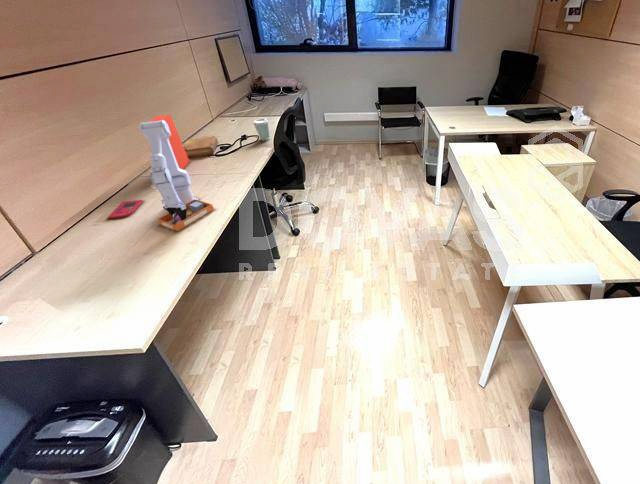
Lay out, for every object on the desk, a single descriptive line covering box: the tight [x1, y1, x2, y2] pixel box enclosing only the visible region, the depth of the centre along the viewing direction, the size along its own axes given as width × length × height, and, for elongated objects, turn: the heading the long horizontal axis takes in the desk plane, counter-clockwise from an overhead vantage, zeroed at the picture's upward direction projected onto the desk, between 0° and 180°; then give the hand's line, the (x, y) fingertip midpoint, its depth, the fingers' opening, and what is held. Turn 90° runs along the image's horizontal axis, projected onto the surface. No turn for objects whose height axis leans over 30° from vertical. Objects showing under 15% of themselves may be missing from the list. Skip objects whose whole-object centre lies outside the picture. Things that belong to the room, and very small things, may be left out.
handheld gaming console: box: [107, 199, 143, 220], centre depth 164 cm, size 10×1×15 cm
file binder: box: [148, 114, 190, 170], centre depth 197 cm, size 8×17×32 cm, turn 12°
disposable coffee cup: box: [253, 118, 270, 141], centre depth 244 cm, size 11×11×15 cm
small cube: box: [189, 201, 205, 213], centre depth 161 cm, size 5×4×4 cm
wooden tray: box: [157, 199, 215, 232], centre depth 157 cm, size 13×20×4 cm, turn 156°
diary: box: [183, 135, 219, 158], centre depth 229 cm, size 23×19×6 cm
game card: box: [172, 213, 182, 225], centre depth 153 cm, size 7×5×9 cm
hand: (180, 218), depth 154 cm, fingers closed on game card, 5 cm apart
